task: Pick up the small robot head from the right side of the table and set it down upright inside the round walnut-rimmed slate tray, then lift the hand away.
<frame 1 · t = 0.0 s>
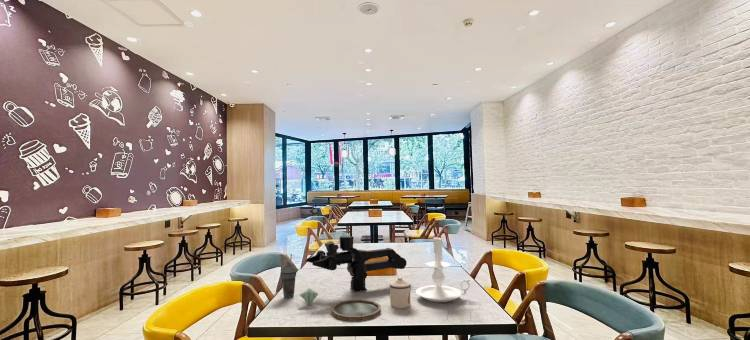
hand: (309, 262, 155), 17 cm above the table, tool horizontal, fingers open, 9 cm apart
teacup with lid: (399, 304, 145), on the table
candlestick: (443, 299, 151), on the table
round tray: (356, 311, 137), on the table
beverage cup: (288, 297, 156), on the table
robot head: (309, 305, 146), on the table
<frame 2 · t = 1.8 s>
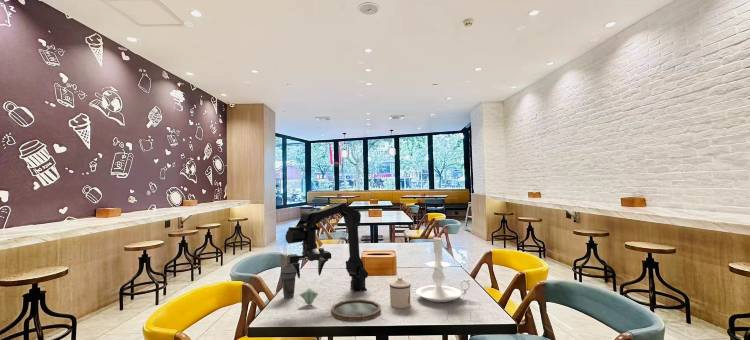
hand: (309, 276, 146), 12 cm above the table, tool pointing down, fingers open, 9 cm apart
nothing on the table moved.
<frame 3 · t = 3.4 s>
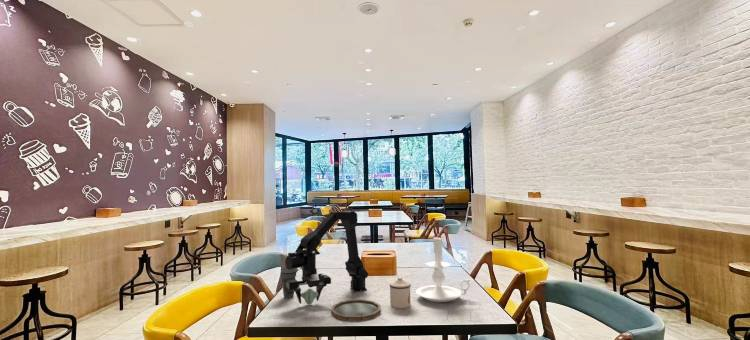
hand: (308, 302, 145), 1 cm above the table, tool pointing down, fingers closed on robot head, 7 cm apart
robot head: (309, 304, 146), on the table, touching gripper
everything else where it was.
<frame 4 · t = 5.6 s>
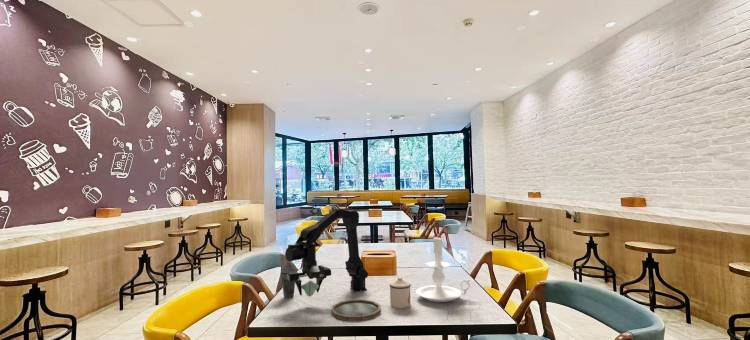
hand: (309, 293, 146), 5 cm above the table, tool pointing down, fingers closed on robot head, 7 cm apart
robot head: (309, 296, 146), point 3 cm above the table, touching gripper
everything else where it was.
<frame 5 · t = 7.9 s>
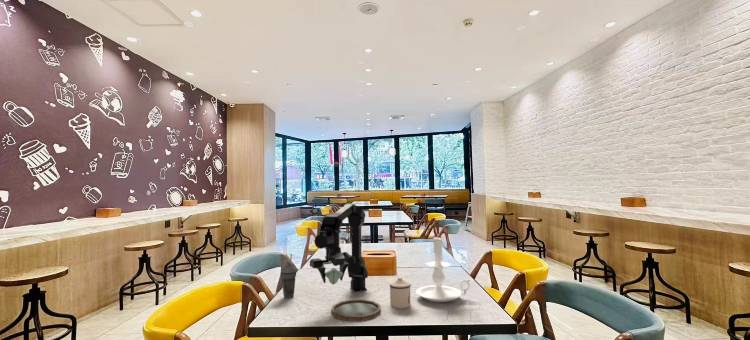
hand: (332, 281, 142), 11 cm above the table, tool pointing down, fingers closed on robot head, 7 cm apart
robot head: (333, 284, 142), point 10 cm above the table, touching gripper
everything else where it was.
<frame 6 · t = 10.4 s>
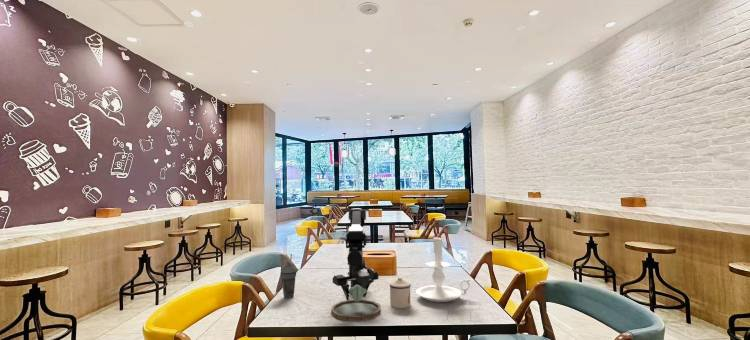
hand: (356, 298, 137), 5 cm above the table, tool pointing down, fingers closed on robot head, 7 cm apart
robot head: (356, 302, 137), point 4 cm above the table, touching gripper
everything else where it was.
when the fingers open (2 cm above the table, at t = 12.1 s): robot head stays where it is, resting on round tray.
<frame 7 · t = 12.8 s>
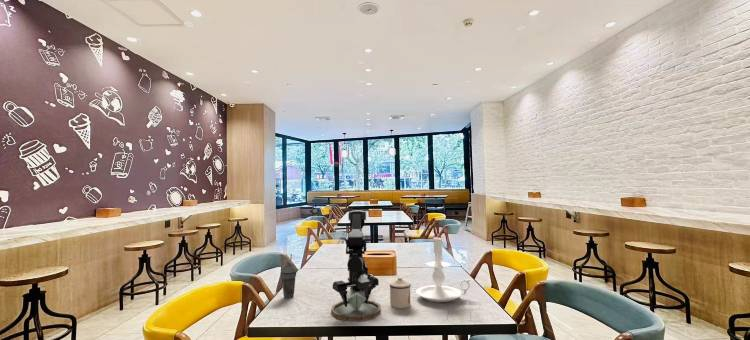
hand: (356, 304, 137), 3 cm above the table, tool pointing down, fingers open, 9 cm apart
robot head: (356, 310, 137), resting on round tray
everything else where it was.
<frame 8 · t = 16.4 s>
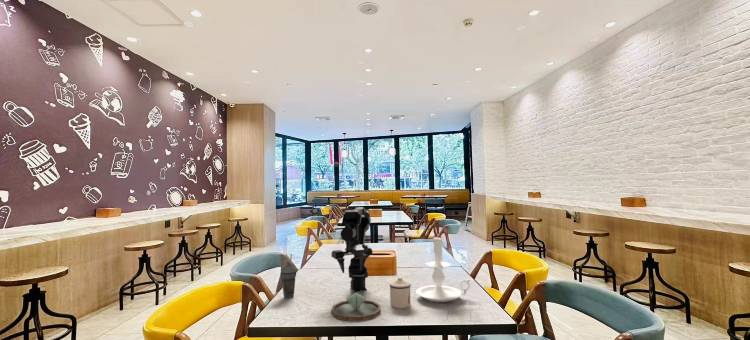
hand: (352, 271, 154), 12 cm above the table, tool pointing down, fingers open, 9 cm apart
nothing on the table moved.
at the end: robot head inside the target area on the round tray (0.0 cm from its centre), point 0.4 cm above the round tray's base; robot head tilted 0°; the gripper is holding nothing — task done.
